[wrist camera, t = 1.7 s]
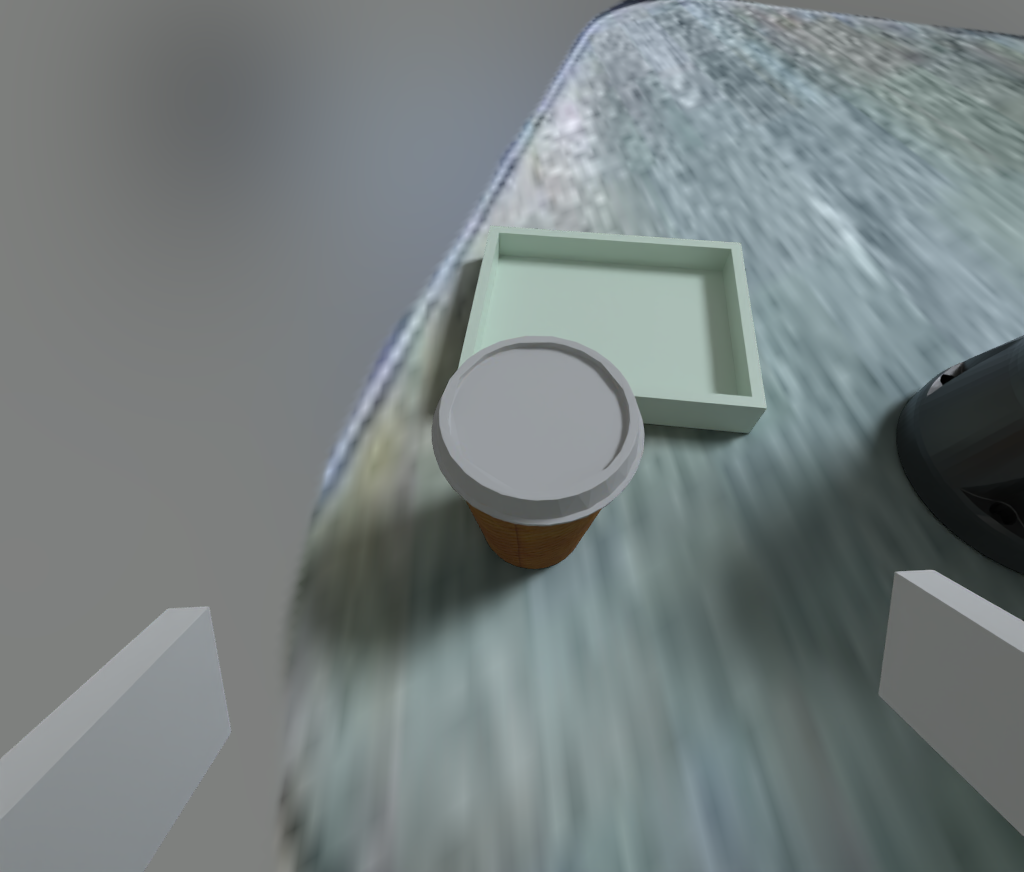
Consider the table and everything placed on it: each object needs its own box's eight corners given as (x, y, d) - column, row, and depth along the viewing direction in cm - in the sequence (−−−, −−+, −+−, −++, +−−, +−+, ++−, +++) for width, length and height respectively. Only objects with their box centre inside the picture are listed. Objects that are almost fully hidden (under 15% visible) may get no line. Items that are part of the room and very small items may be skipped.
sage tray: (728, 272, 44) (740, 243, 42) (749, 433, 36) (766, 408, 34) (492, 255, 46) (490, 225, 43) (459, 405, 38) (455, 379, 35)
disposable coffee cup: (522, 429, 37) (523, 298, 26) (639, 511, 33) (692, 398, 23) (423, 528, 33) (380, 421, 23) (545, 632, 29) (558, 562, 19)
